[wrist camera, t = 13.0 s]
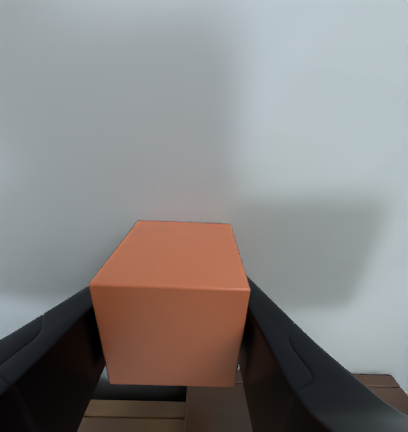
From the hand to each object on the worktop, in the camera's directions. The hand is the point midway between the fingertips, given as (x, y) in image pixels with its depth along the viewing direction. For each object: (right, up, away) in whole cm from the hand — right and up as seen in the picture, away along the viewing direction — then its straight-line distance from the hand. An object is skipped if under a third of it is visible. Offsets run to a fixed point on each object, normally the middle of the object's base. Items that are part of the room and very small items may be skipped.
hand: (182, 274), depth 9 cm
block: (0, 0, +1) cm, 1 cm away
